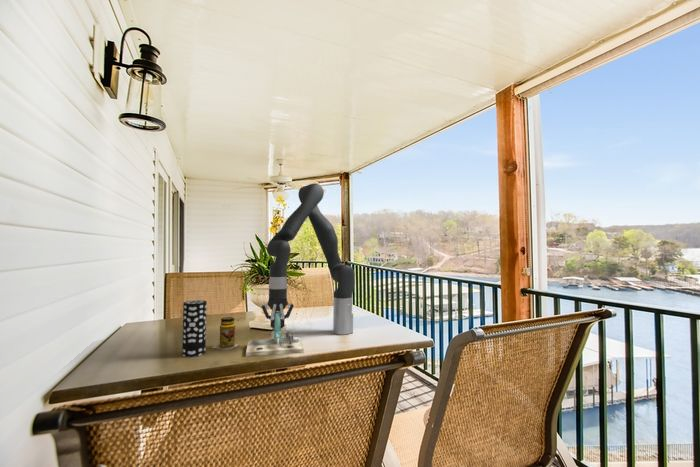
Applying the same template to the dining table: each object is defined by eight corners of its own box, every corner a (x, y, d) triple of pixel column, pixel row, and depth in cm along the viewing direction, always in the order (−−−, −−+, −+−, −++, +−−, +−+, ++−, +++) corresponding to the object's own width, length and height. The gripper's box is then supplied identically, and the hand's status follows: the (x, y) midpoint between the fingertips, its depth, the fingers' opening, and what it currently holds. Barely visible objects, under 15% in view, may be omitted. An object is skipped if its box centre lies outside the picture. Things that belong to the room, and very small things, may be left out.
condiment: (228, 350, 137) (229, 320, 137) (211, 348, 140) (211, 318, 140) (239, 345, 144) (240, 316, 144) (222, 343, 146) (223, 315, 147)
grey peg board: (300, 342, 148) (300, 328, 148) (303, 352, 135) (303, 337, 135) (247, 345, 143) (248, 331, 143) (245, 356, 129) (246, 340, 130)
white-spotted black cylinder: (190, 358, 127) (191, 304, 127) (177, 354, 131) (178, 302, 132) (209, 352, 134) (211, 301, 134) (197, 349, 138) (198, 299, 139)
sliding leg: (280, 338, 145) (281, 311, 145) (281, 345, 136) (282, 315, 136) (273, 339, 144) (273, 311, 145) (274, 345, 135) (274, 315, 135)
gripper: (294, 285, 149) (293, 325, 148) (261, 286, 145) (260, 327, 145) (295, 288, 141) (294, 329, 141) (260, 288, 138) (260, 331, 137)
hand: (277, 328), depth 143 cm, fingers closed on sliding leg, 3 cm apart
